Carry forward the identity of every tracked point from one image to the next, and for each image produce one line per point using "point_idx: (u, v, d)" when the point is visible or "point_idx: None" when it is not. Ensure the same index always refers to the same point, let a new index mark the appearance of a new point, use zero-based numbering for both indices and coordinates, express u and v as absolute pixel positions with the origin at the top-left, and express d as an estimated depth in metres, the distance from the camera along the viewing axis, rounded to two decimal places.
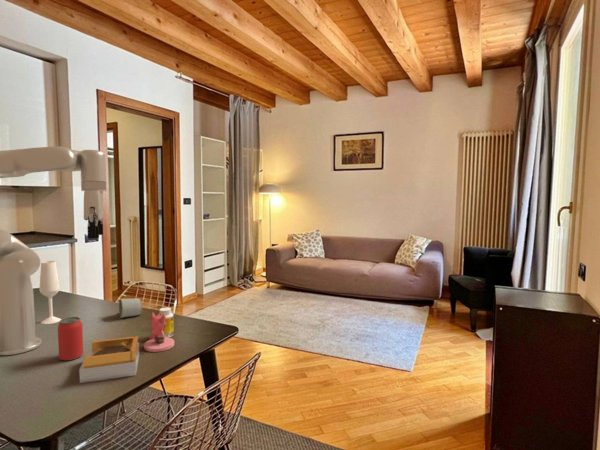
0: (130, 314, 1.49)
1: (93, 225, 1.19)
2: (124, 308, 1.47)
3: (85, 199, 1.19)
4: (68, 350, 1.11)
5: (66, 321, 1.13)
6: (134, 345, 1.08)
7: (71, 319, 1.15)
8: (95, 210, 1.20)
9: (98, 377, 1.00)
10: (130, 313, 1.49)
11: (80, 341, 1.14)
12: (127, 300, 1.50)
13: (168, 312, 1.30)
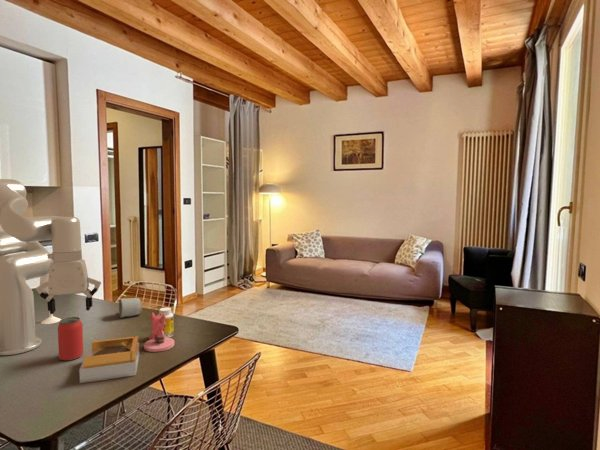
0: (130, 314, 1.50)
1: (92, 294, 1.15)
2: (124, 308, 1.48)
3: (84, 270, 1.12)
4: (68, 350, 1.11)
5: (66, 321, 1.13)
6: (134, 345, 1.08)
7: (71, 319, 1.15)
8: None
9: (98, 377, 1.00)
10: (130, 312, 1.49)
11: (80, 341, 1.14)
12: (127, 300, 1.50)
13: (168, 312, 1.30)
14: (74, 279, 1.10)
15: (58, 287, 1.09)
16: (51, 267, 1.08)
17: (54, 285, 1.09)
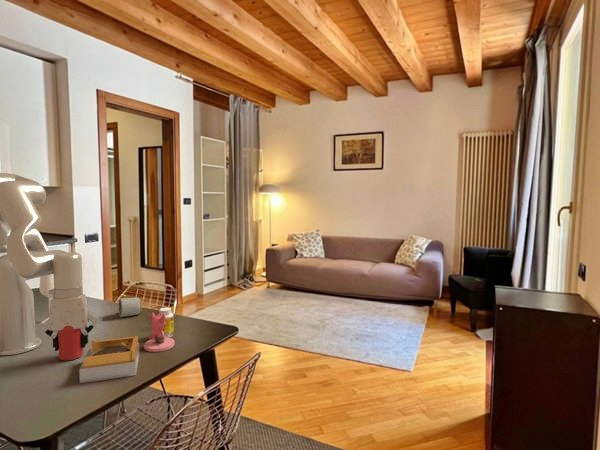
0: (130, 314, 1.50)
1: (88, 331, 1.16)
2: (124, 307, 1.48)
3: (85, 305, 1.13)
4: (68, 350, 1.11)
5: None
6: (134, 345, 1.08)
7: None
8: None
9: (98, 377, 1.00)
10: (130, 312, 1.50)
11: (80, 341, 1.14)
12: (127, 299, 1.51)
13: (168, 312, 1.30)
14: (75, 315, 1.11)
15: (59, 323, 1.10)
16: (52, 303, 1.09)
17: (55, 321, 1.10)
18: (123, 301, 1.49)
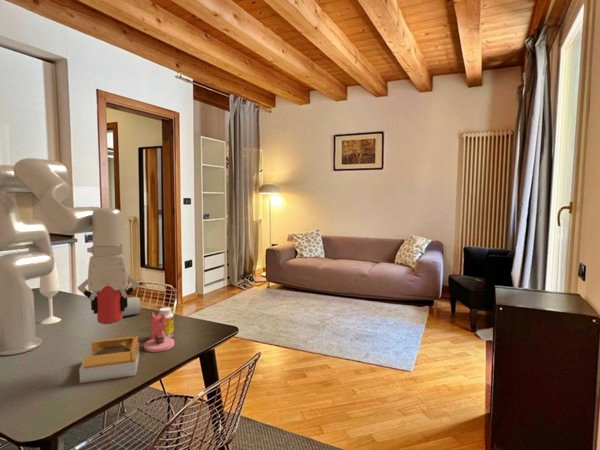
0: (130, 313, 1.51)
1: (128, 294, 1.08)
2: None
3: (125, 265, 1.05)
4: (108, 313, 1.03)
5: None
6: (134, 345, 1.08)
7: None
8: None
9: (98, 377, 1.00)
10: (129, 311, 1.50)
11: (120, 304, 1.06)
12: None
13: (168, 312, 1.30)
14: (115, 275, 1.03)
15: (98, 283, 1.02)
16: (91, 262, 1.01)
17: (94, 281, 1.02)
18: None
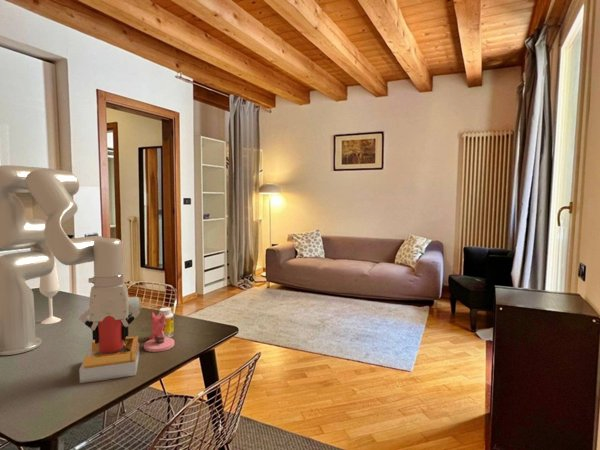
0: (129, 313, 1.51)
1: None
2: None
3: (126, 295, 1.06)
4: (109, 343, 1.04)
5: None
6: (134, 345, 1.08)
7: None
8: None
9: (98, 377, 1.00)
10: (129, 311, 1.51)
11: (121, 333, 1.07)
12: None
13: (168, 312, 1.30)
14: (116, 305, 1.04)
15: (99, 313, 1.03)
16: (93, 292, 1.02)
17: (95, 311, 1.02)
18: None
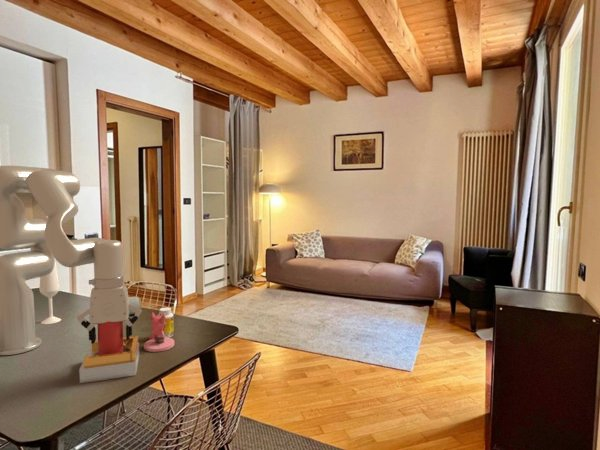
0: (129, 313, 1.51)
1: (133, 322, 1.09)
2: None
3: (126, 297, 1.06)
4: (109, 347, 1.04)
5: None
6: (134, 345, 1.08)
7: None
8: None
9: (98, 377, 1.00)
10: (129, 311, 1.51)
11: (121, 337, 1.07)
12: None
13: (168, 312, 1.30)
14: (116, 307, 1.04)
15: (100, 315, 1.03)
16: (93, 294, 1.02)
17: (96, 313, 1.02)
18: None
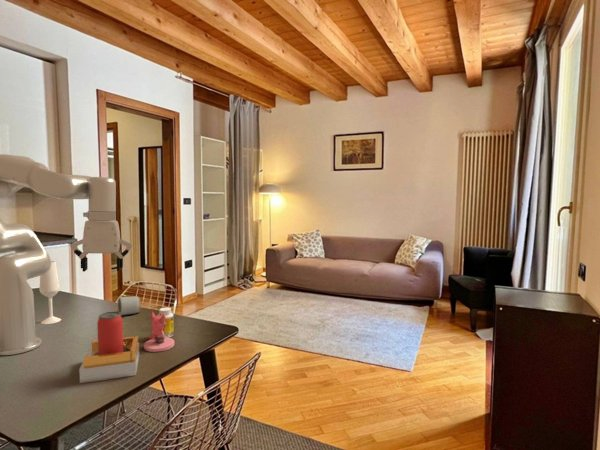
0: (129, 312, 1.52)
1: None
2: (123, 306, 1.50)
3: (117, 231, 1.13)
4: (109, 347, 1.04)
5: (106, 315, 1.06)
6: (134, 345, 1.08)
7: (111, 314, 1.08)
8: None
9: (98, 377, 1.00)
10: (129, 311, 1.51)
11: (121, 337, 1.07)
12: (126, 298, 1.52)
13: (168, 312, 1.30)
14: (107, 239, 1.12)
15: (92, 245, 1.11)
16: (86, 225, 1.10)
17: (88, 243, 1.10)
18: (122, 300, 1.51)
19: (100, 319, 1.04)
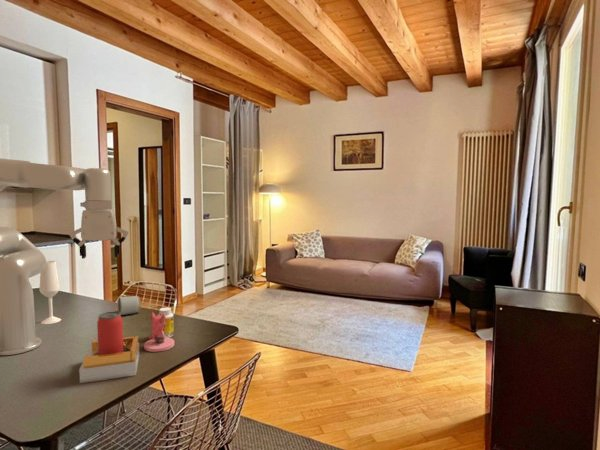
0: (129, 312, 1.52)
1: (120, 243, 1.23)
2: (123, 306, 1.50)
3: (114, 219, 1.20)
4: (109, 347, 1.04)
5: (106, 315, 1.06)
6: (134, 345, 1.08)
7: (111, 314, 1.08)
8: None
9: (98, 377, 1.00)
10: (129, 310, 1.52)
11: (120, 337, 1.07)
12: (126, 298, 1.53)
13: (168, 312, 1.30)
14: (105, 226, 1.18)
15: (90, 233, 1.17)
16: (84, 214, 1.16)
17: (86, 231, 1.17)
18: (122, 299, 1.51)
19: (100, 319, 1.04)
